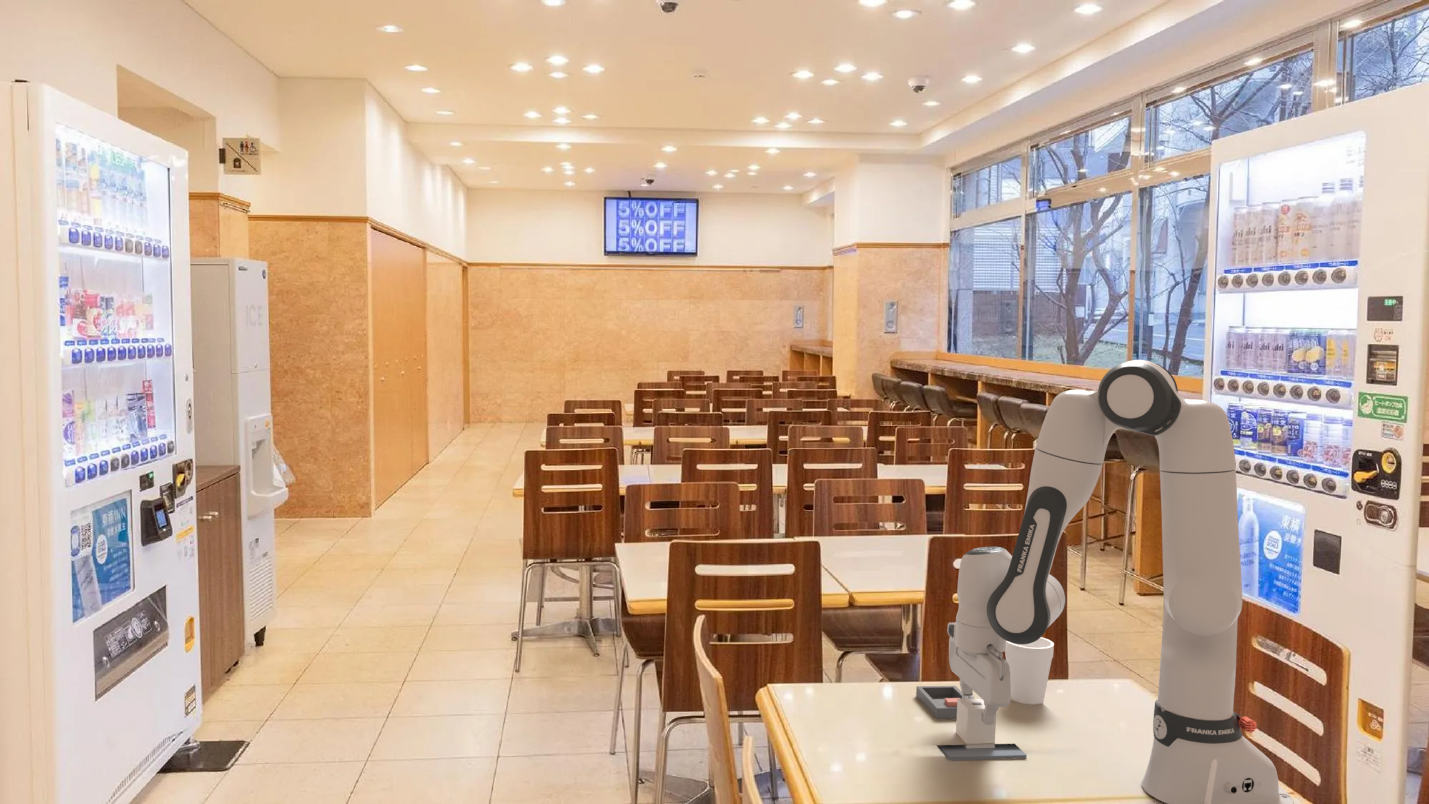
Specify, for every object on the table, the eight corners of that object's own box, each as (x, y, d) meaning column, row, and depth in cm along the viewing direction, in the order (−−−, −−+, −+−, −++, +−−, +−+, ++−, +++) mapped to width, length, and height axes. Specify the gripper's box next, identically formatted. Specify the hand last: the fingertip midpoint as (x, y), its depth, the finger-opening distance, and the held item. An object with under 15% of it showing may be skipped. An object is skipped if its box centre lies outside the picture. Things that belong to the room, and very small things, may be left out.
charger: (983, 736, 188) (985, 697, 188) (994, 747, 183) (996, 708, 183) (955, 736, 188) (957, 698, 187) (966, 748, 183) (968, 708, 182)
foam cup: (1056, 703, 208) (1059, 640, 207) (1044, 717, 200) (1047, 651, 199) (1008, 693, 213) (1012, 631, 212) (995, 707, 205) (998, 642, 204)
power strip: (954, 702, 207) (955, 681, 207) (977, 725, 195) (978, 703, 195) (915, 703, 206) (916, 682, 205) (936, 726, 194) (937, 704, 194)
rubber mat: (998, 731, 192) (999, 728, 192) (1026, 758, 180) (1026, 754, 180) (926, 733, 191) (926, 729, 190) (948, 760, 179) (949, 756, 179)
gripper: (1022, 655, 174) (1018, 735, 175) (976, 621, 194) (973, 693, 195) (986, 655, 173) (982, 736, 174) (944, 621, 194) (941, 694, 195)
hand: (977, 713), depth 185 cm, fingers open, 8 cm apart
